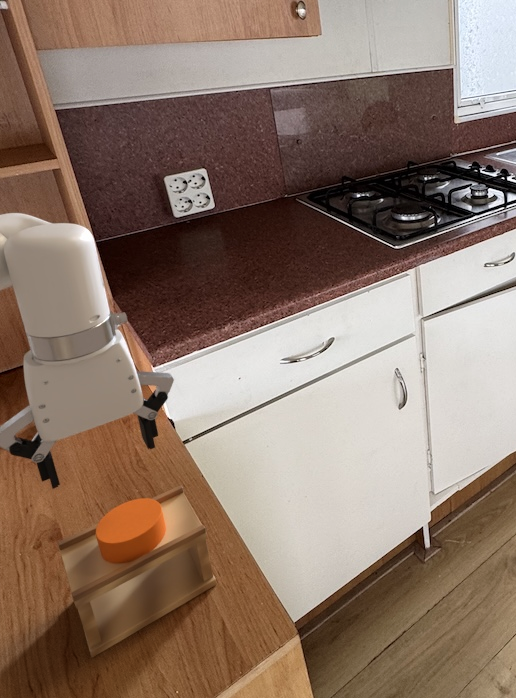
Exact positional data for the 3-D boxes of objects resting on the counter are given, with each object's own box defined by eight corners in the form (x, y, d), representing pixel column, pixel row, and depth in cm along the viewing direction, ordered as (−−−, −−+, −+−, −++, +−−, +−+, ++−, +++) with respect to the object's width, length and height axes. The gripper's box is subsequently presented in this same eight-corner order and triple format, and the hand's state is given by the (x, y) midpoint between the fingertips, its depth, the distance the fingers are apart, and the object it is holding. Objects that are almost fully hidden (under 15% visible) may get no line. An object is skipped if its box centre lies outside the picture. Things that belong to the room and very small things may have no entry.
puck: (94, 571, 68) (88, 550, 67) (108, 525, 74) (103, 506, 73) (161, 554, 71) (156, 533, 69) (170, 511, 77) (165, 492, 76)
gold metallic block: (91, 658, 67) (72, 597, 64) (75, 599, 74) (57, 541, 71) (216, 584, 77) (205, 527, 73) (192, 538, 83) (180, 484, 80)
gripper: (151, 301, 72) (173, 416, 77) (-34, 348, 60) (7, 479, 66) (169, 323, 67) (191, 445, 72) (-30, 380, 55) (15, 518, 61)
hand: (103, 461), depth 69 cm, fingers open, 9 cm apart
